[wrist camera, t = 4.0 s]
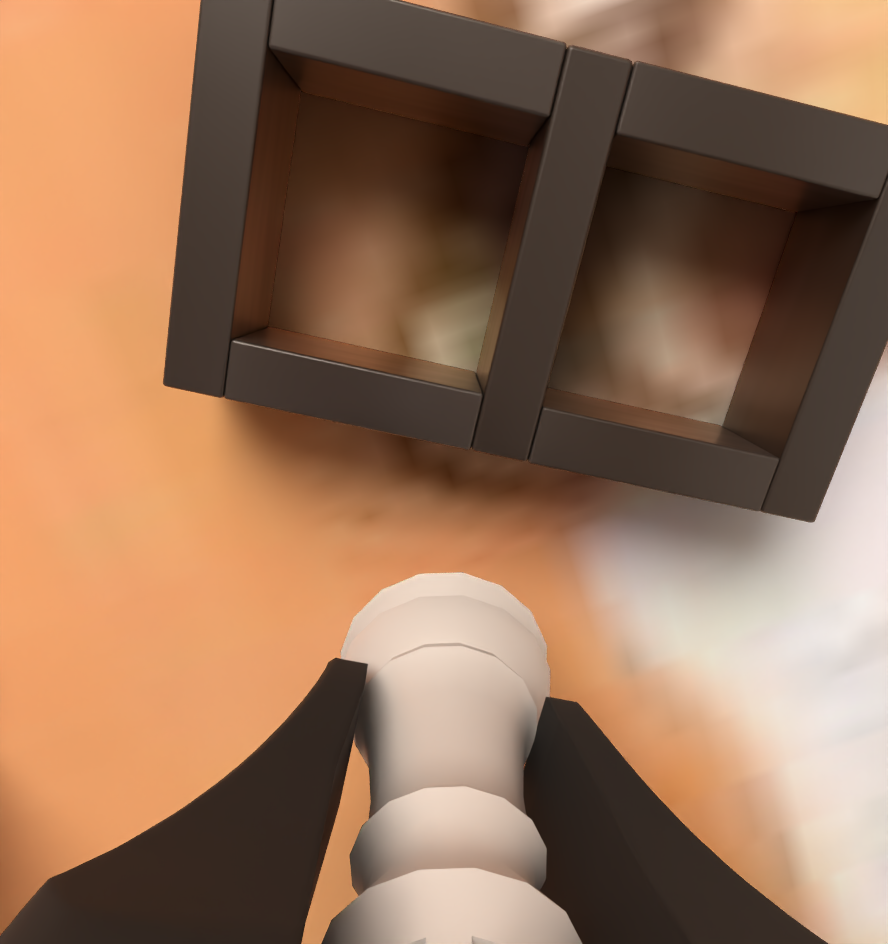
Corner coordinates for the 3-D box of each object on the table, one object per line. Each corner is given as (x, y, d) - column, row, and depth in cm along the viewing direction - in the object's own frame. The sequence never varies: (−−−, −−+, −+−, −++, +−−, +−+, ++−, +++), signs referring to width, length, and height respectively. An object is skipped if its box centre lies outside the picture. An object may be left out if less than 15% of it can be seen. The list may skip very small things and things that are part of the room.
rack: (865, 168, 15) (969, 144, 12) (751, 480, 17) (815, 524, 14) (253, 15, 14) (204, -53, 11) (211, 365, 16) (160, 386, 13)
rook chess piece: (583, 673, 15) (738, 1095, 7) (422, 770, 16) (408, 1247, 8) (469, 522, 14) (510, 829, 6) (301, 633, 15) (153, 1033, 7)
